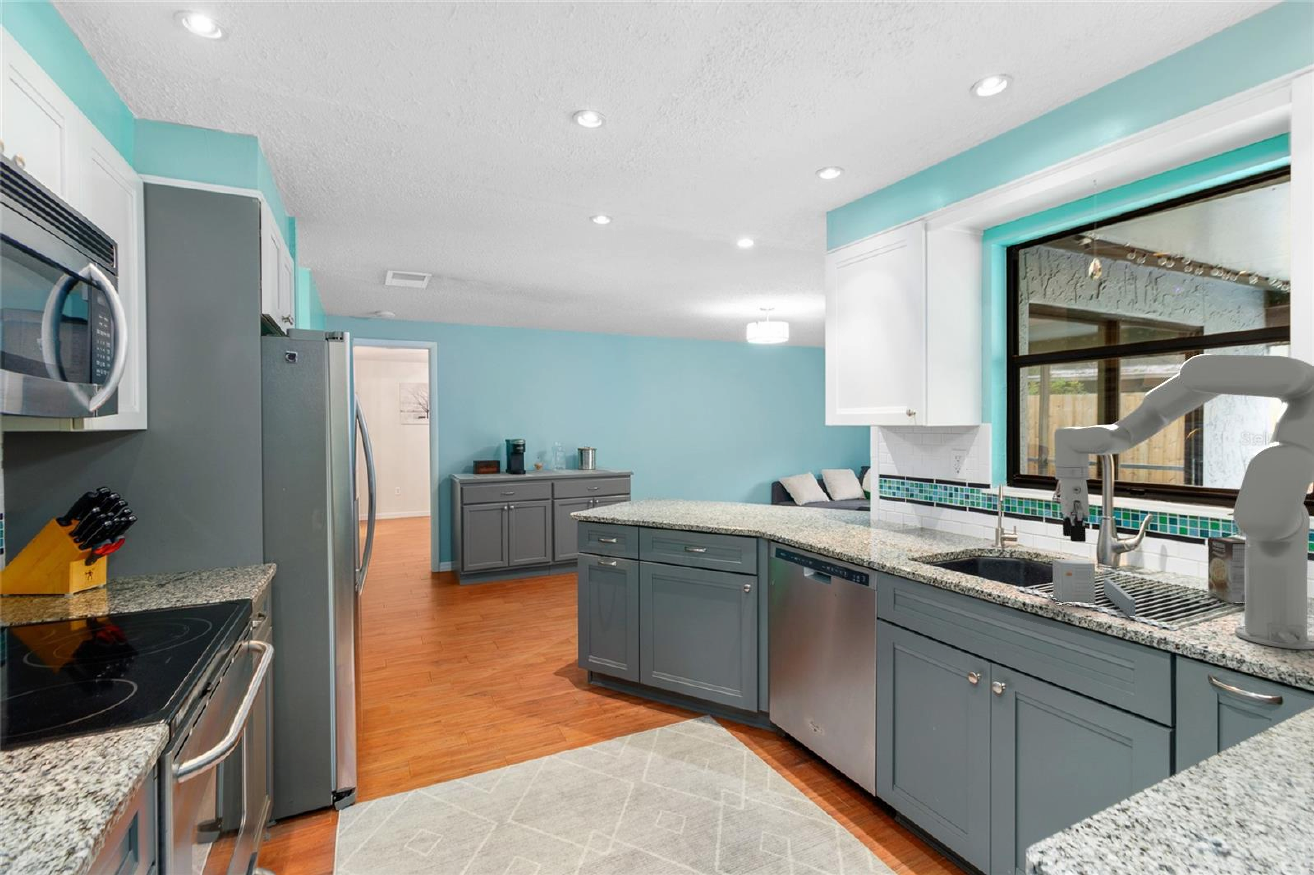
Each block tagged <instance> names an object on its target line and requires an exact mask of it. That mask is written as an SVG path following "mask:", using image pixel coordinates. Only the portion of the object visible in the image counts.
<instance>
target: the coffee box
mask: <svg viewBox="0 0 1314 875" xmlns="http://www.w3.org/2000/svg"><path fill="white" fill-rule="evenodd" d="M1207 537H1208V538H1207V541H1208V545H1207V546H1208V549H1207V550H1208V552H1207V553H1208V555H1207V556H1208V557H1207V558H1208V559H1207V563H1208V564H1207V565H1208V566H1207V567H1208V568H1207V572H1208V573H1207V578H1208V580H1207V582H1208V584H1207V586H1208V587H1207V588H1208V589H1207V590H1208V591H1207V594H1209V596H1210V597H1214V598H1216V599H1218V598H1219V600H1222V601H1223V602H1227V603H1229V602H1231V603H1230V604H1233V602H1234V603H1235V602H1242V603H1243V602H1245V579H1244V568H1245V539H1242V538H1239V537H1234V536H1207Z"/></svg>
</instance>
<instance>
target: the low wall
mask: <svg viewBox="0 0 1314 875" xmlns="http://www.w3.org/2000/svg"><path fill="white" fill-rule="evenodd" d="M1104 594H1105V595H1106V596H1105V595H1104ZM1103 595H1104V596H1105V597H1106V598H1107V599H1108V598H1109V599H1110V600H1109V599H1108V600H1109V601H1110V602H1112V603H1113V604H1114V605H1115V606H1116V607H1117V608H1118V607H1119V608H1120V609H1121V610H1122V611H1123V612H1125V613H1126V614H1127V615H1128V616H1135V617H1136V598H1134V597H1132V595H1130V594H1129V593H1127V591H1125V590H1124V589H1123V588H1122V587H1121V586H1120V585H1118V584H1117V583H1116V582H1114V581H1113V580H1111V578H1108V577H1103ZM1119 608H1118V609H1119ZM1120 609H1119V610H1120ZM1121 610H1120V611H1121ZM1122 611H1121V612H1122ZM1123 612H1122V613H1123ZM1125 613H1124V614H1125ZM1126 614H1125V615H1126ZM1127 615H1126V616H1127ZM1128 616H1127V617H1128Z"/></svg>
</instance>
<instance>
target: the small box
mask: <svg viewBox="0 0 1314 875" xmlns="http://www.w3.org/2000/svg"><path fill="white" fill-rule="evenodd" d="M1052 594H1053V597H1054V598H1056V599H1057V600H1059V601H1061V602H1087V603H1094V604H1096V564H1095V563H1094V562H1091V561H1089V560H1086V559H1077V558H1076V559H1075V558H1052Z"/></svg>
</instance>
